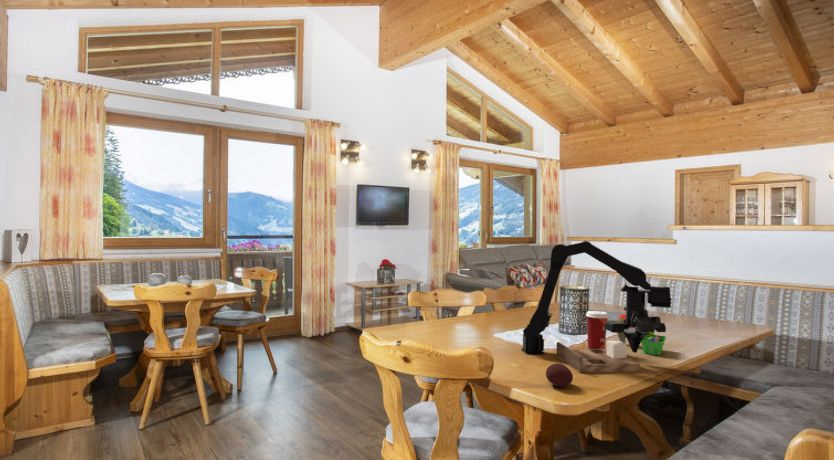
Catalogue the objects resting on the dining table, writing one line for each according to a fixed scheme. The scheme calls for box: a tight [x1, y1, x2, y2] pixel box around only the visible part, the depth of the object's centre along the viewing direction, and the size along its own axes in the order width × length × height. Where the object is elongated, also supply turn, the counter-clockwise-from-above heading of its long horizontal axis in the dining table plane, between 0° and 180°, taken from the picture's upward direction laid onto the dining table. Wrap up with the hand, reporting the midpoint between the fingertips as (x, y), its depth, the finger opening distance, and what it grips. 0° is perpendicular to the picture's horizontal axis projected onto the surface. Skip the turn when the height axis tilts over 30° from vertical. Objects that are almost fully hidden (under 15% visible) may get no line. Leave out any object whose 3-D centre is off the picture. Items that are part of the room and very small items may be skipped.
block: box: [605, 340, 627, 358], centre depth 160 cm, size 4×4×4 cm
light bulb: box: [615, 317, 627, 344], centre depth 186 cm, size 6×6×10 cm
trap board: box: [555, 341, 641, 374], centre depth 159 cm, size 20×18×5 cm
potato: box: [545, 362, 574, 388], centre depth 138 cm, size 8×9×6 cm
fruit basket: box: [640, 330, 667, 356], centre depth 176 cm, size 11×9×11 cm
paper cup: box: [585, 310, 609, 349], centre depth 176 cm, size 8×8×14 cm
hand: (634, 352), depth 161 cm, fingers closed
